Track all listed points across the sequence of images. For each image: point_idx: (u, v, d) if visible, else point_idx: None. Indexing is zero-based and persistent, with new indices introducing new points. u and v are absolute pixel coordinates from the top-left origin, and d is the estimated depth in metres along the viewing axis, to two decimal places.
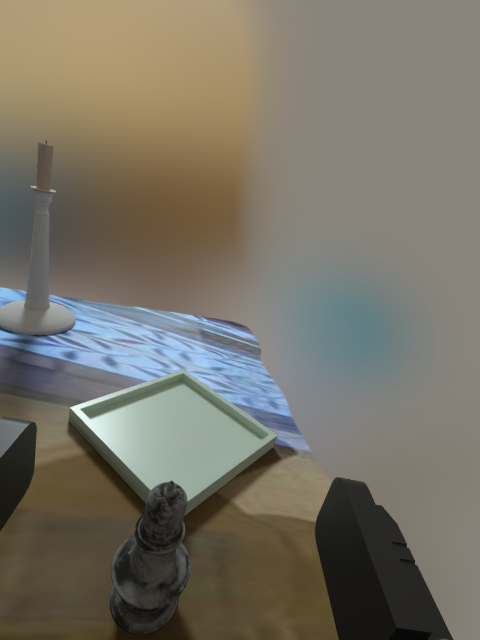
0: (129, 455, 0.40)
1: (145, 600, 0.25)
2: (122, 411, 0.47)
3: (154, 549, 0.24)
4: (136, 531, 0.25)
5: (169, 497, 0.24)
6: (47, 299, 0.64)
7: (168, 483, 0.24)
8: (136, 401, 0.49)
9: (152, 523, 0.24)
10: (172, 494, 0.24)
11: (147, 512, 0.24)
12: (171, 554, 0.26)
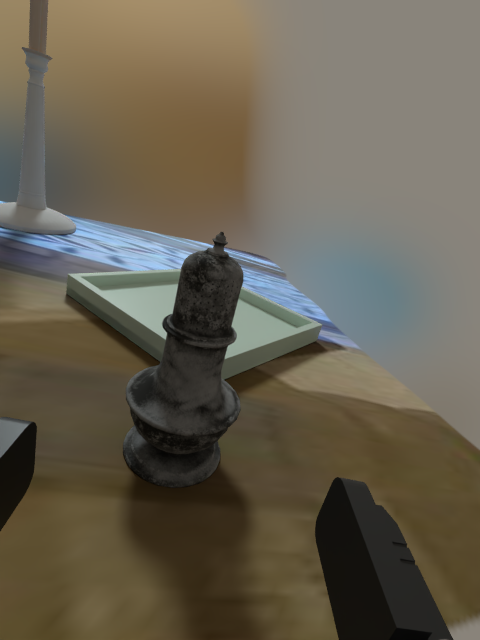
0: None
1: (179, 423, 0.16)
2: (133, 290, 0.38)
3: (193, 338, 0.16)
4: (165, 323, 0.17)
5: (218, 255, 0.15)
6: (43, 197, 0.55)
7: (216, 236, 0.16)
8: (149, 286, 0.40)
9: (192, 293, 0.15)
10: (223, 253, 0.16)
11: (184, 278, 0.15)
12: (218, 361, 0.17)
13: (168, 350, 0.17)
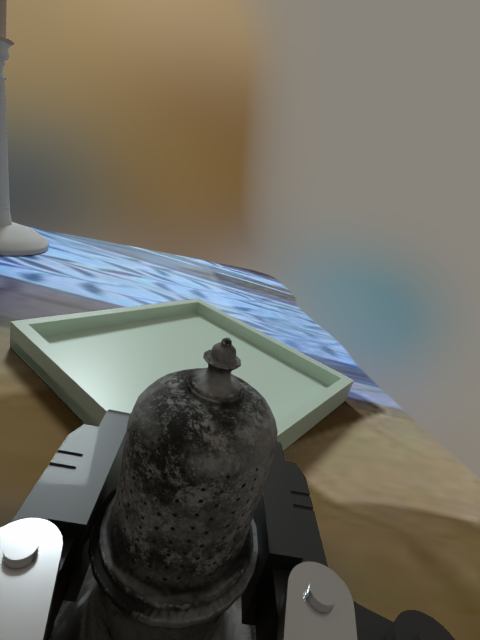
0: (110, 396, 0.22)
1: None
2: (104, 338, 0.29)
3: (157, 605, 0.06)
4: (95, 536, 0.07)
5: (219, 399, 0.06)
6: (7, 211, 0.46)
7: (213, 348, 0.06)
8: (127, 329, 0.31)
9: (150, 503, 0.06)
10: (230, 392, 0.06)
11: (131, 460, 0.06)
12: (219, 614, 0.07)
13: (103, 597, 0.07)
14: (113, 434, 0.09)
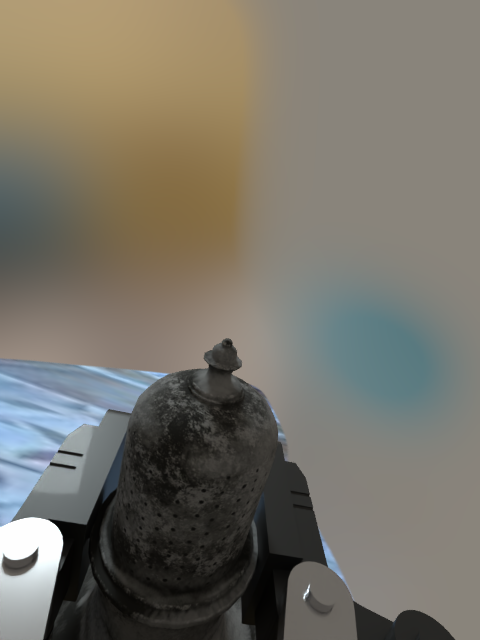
0: None
1: None
2: None
3: (157, 606, 0.06)
4: (95, 537, 0.07)
5: (220, 399, 0.06)
6: None
7: (214, 349, 0.06)
8: None
9: (151, 504, 0.06)
10: (231, 392, 0.06)
11: (131, 460, 0.06)
12: (219, 615, 0.07)
13: (103, 598, 0.07)
14: (113, 433, 0.09)
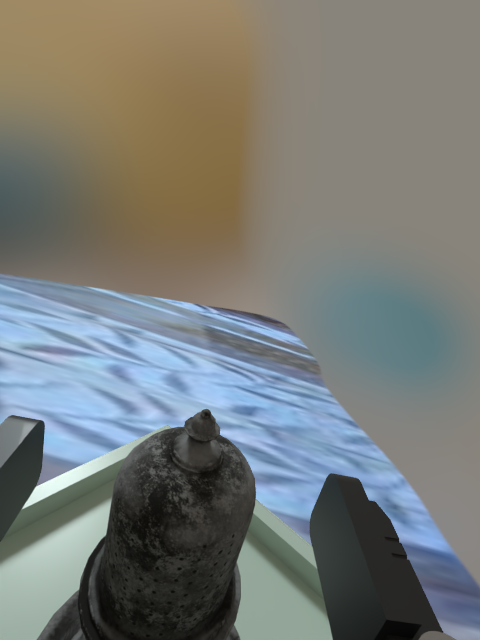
0: None
1: None
2: None
3: None
4: (84, 588, 0.08)
5: (198, 468, 0.06)
6: None
7: (193, 419, 0.07)
8: None
9: (133, 569, 0.06)
10: (210, 461, 0.07)
11: (115, 526, 0.06)
12: None
13: None
14: (5, 444, 0.08)
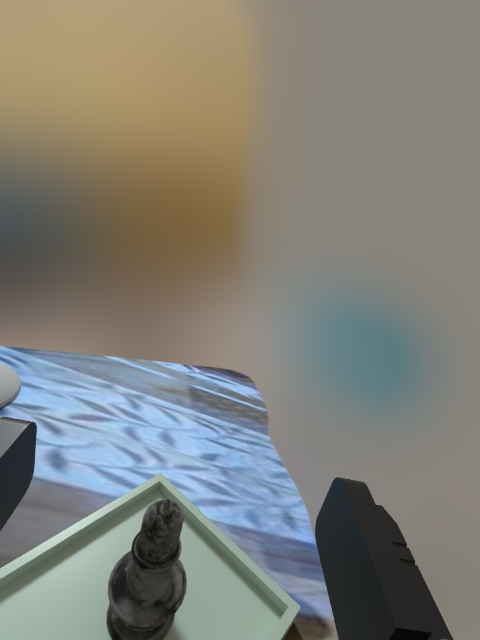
0: None
1: (141, 618, 0.25)
2: (55, 576, 0.29)
3: (150, 566, 0.25)
4: (132, 549, 0.25)
5: (165, 515, 0.24)
6: None
7: (164, 501, 0.25)
8: (82, 548, 0.32)
9: (148, 541, 0.24)
10: (168, 513, 0.25)
11: (143, 530, 0.24)
12: (168, 571, 0.26)
13: (135, 566, 0.26)
14: None
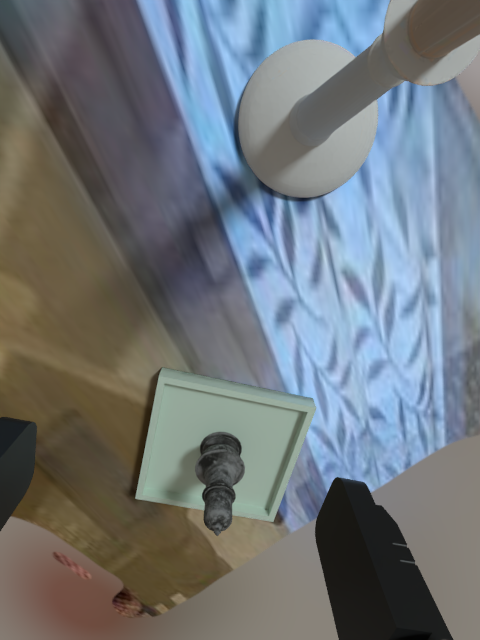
0: (163, 439, 0.45)
1: (200, 478, 0.43)
2: (205, 398, 0.43)
3: (204, 501, 0.39)
4: (207, 487, 0.38)
5: (213, 528, 0.35)
6: (323, 138, 0.30)
7: (216, 531, 0.35)
8: (228, 398, 0.43)
9: (204, 512, 0.37)
10: None
11: (205, 511, 0.36)
12: None
13: (207, 483, 0.39)
14: None
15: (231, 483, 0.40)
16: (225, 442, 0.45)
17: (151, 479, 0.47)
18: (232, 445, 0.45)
